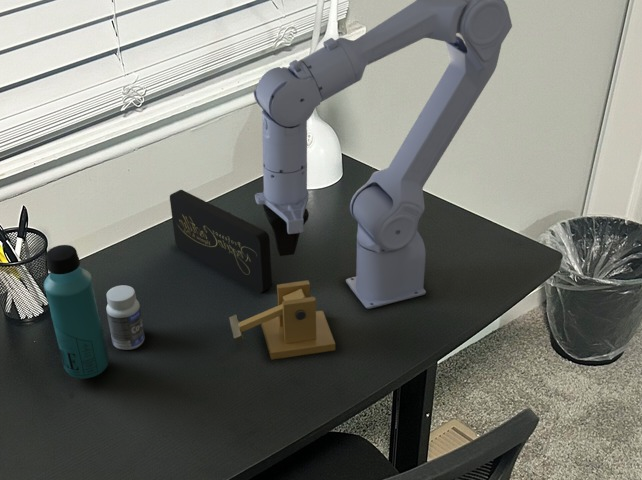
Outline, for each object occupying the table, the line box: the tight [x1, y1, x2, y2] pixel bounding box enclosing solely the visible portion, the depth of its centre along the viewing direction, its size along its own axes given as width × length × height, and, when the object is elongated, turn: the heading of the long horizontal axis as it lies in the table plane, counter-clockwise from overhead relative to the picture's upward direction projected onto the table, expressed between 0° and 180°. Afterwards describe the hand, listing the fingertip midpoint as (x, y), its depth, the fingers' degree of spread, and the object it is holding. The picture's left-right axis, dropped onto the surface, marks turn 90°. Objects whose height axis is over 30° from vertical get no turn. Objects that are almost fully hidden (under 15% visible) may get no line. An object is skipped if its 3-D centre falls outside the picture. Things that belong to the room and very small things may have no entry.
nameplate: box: [169, 189, 273, 294], centre depth 142 cm, size 21×2×10 cm, turn 41°
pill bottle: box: [105, 284, 146, 351], centre depth 129 cm, size 5×5×8 cm
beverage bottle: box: [43, 244, 110, 379], centre depth 121 cm, size 6×7×20 cm
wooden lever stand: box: [260, 279, 336, 360], centre depth 127 cm, size 9×8×8 cm
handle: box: [228, 289, 306, 345], centre depth 126 cm, size 11×5×2 cm, turn 94°
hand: (286, 252), depth 127 cm, fingers closed
